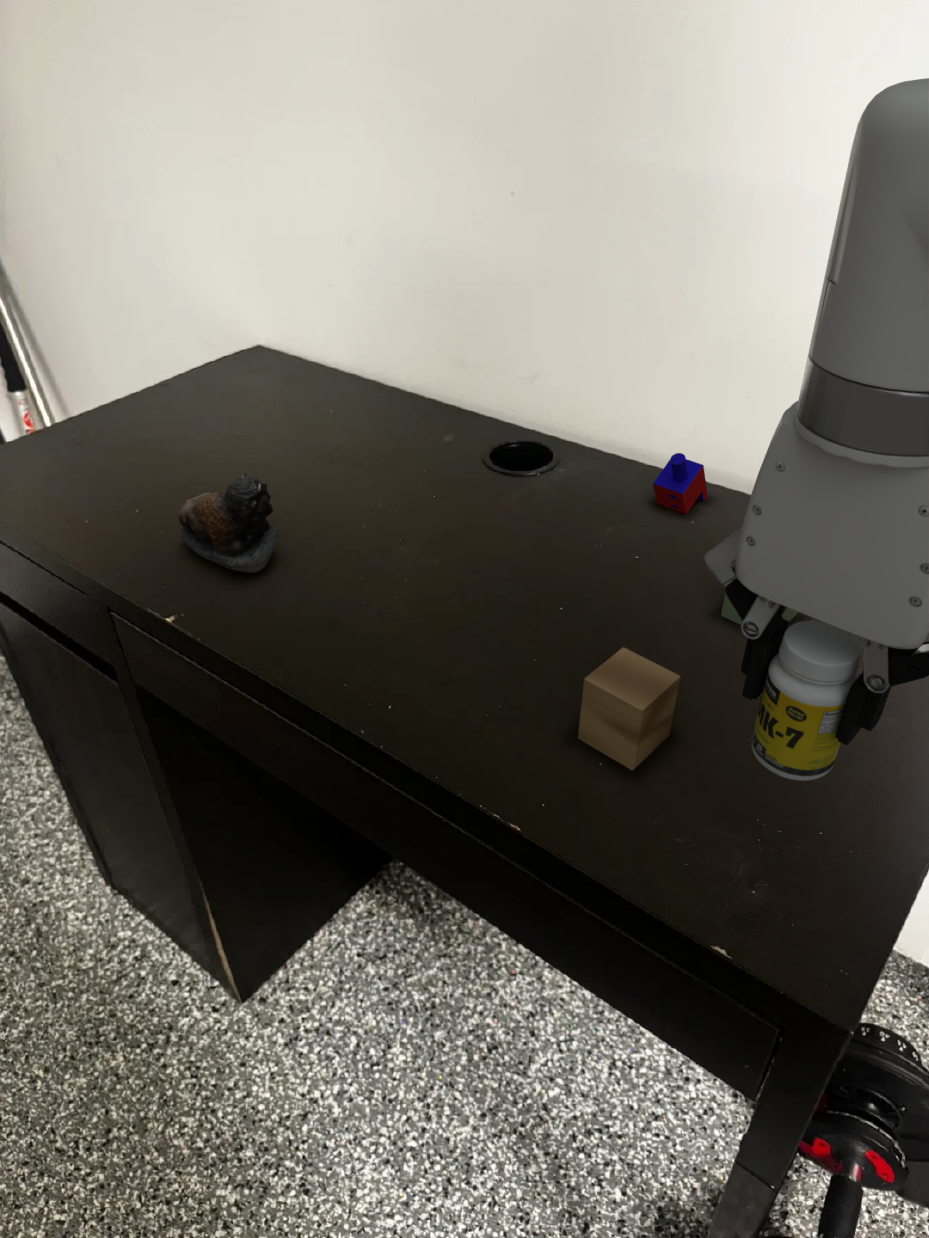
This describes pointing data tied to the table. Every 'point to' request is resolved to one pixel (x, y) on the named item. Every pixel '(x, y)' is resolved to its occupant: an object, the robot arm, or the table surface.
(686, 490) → the toy building block
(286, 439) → the table surface
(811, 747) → the supplement bottle
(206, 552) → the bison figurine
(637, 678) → the oak block
